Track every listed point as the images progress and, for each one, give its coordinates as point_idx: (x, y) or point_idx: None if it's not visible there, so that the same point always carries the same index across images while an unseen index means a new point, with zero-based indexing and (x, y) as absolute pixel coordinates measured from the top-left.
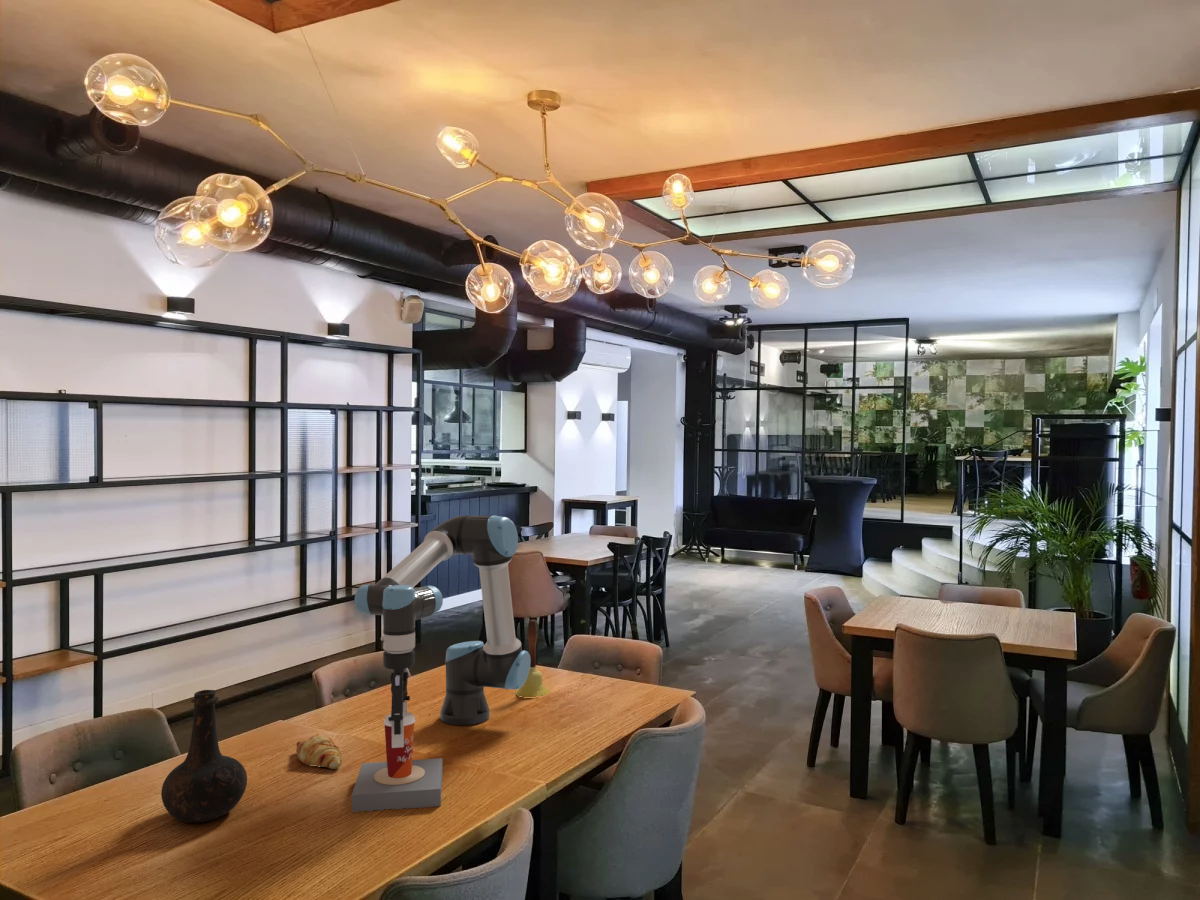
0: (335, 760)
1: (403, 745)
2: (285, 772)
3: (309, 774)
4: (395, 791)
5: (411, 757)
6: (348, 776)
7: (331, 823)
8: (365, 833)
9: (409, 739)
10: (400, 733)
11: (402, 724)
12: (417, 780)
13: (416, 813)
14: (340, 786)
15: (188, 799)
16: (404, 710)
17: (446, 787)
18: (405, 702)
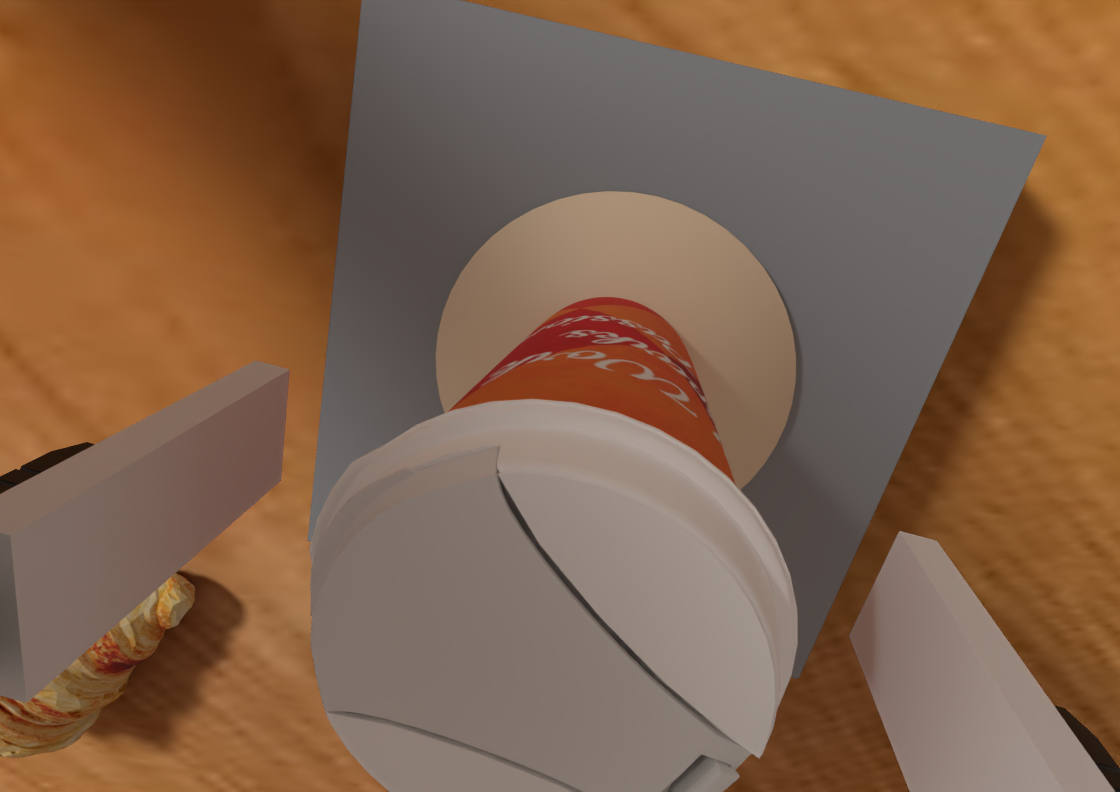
0: (161, 614)
1: (945, 553)
2: (176, 754)
3: (221, 683)
4: (888, 455)
5: (660, 336)
6: (292, 543)
7: (859, 706)
8: (1089, 605)
9: (713, 432)
10: (1061, 713)
11: (1090, 782)
12: (770, 278)
13: (999, 313)
14: None
15: None
16: (135, 498)
17: (672, 27)
18: (13, 558)
